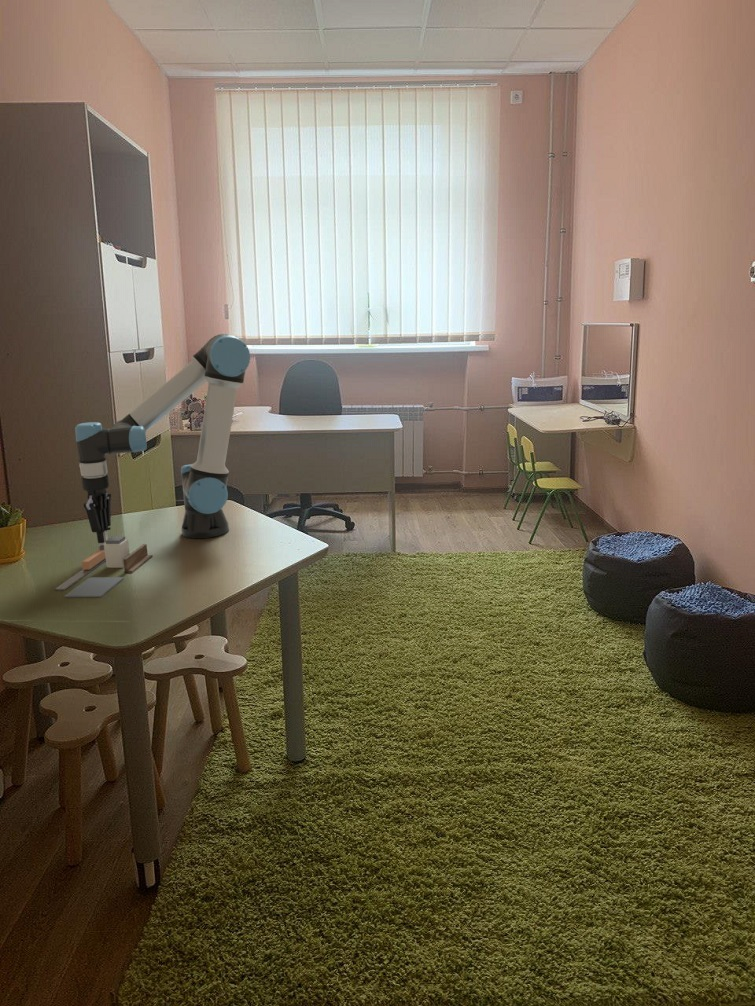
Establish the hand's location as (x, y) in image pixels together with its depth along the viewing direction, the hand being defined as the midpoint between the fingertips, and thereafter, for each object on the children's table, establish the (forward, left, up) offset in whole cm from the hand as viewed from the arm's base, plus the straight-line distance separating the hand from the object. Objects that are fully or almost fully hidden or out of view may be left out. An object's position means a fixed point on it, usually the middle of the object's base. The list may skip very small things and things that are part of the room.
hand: (104, 551), depth 240 cm
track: (-1, +14, -2) cm, 14 cm away
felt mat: (-10, +26, -2) cm, 28 cm away
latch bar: (-1, +7, -2) cm, 7 cm away
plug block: (-8, +7, -2) cm, 10 cm away
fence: (-13, +7, -2) cm, 15 cm away
